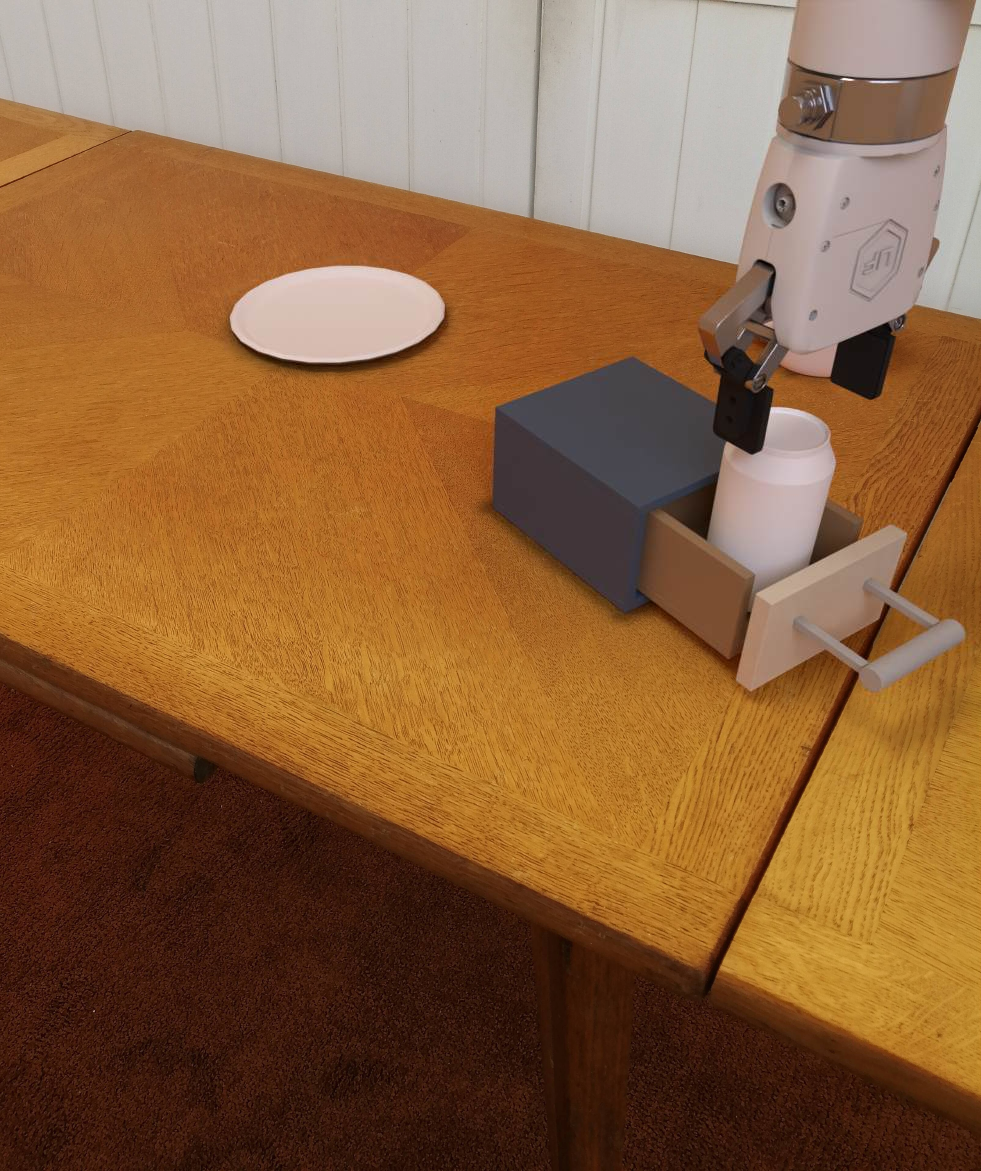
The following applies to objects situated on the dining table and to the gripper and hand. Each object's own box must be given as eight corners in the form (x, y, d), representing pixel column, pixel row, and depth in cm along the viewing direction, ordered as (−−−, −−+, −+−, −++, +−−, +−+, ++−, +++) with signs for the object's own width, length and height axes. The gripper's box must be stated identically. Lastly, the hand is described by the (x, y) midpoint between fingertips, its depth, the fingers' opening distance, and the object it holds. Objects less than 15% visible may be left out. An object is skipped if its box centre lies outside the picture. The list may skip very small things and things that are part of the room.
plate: (371, 259, 116) (371, 247, 116) (488, 329, 103) (489, 317, 102) (195, 311, 108) (193, 299, 107) (297, 396, 94) (295, 383, 93)
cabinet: (761, 546, 76) (785, 441, 70) (624, 614, 71) (639, 507, 65) (621, 454, 86) (632, 355, 80) (491, 507, 81) (494, 406, 75)
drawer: (967, 676, 64) (1004, 588, 60) (835, 759, 60) (865, 670, 55) (722, 516, 77) (738, 434, 73) (599, 573, 73) (608, 490, 68)
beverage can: (770, 553, 72) (808, 394, 64) (817, 613, 67) (864, 449, 60) (682, 568, 71) (710, 408, 63) (724, 629, 66) (760, 465, 59)
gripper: (800, 159, 46) (739, 496, 56) (1046, 82, 52) (950, 395, 63) (672, 120, 51) (639, 437, 61) (912, 54, 57) (844, 349, 68)
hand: (797, 415), depth 62 cm, fingers open, 9 cm apart
